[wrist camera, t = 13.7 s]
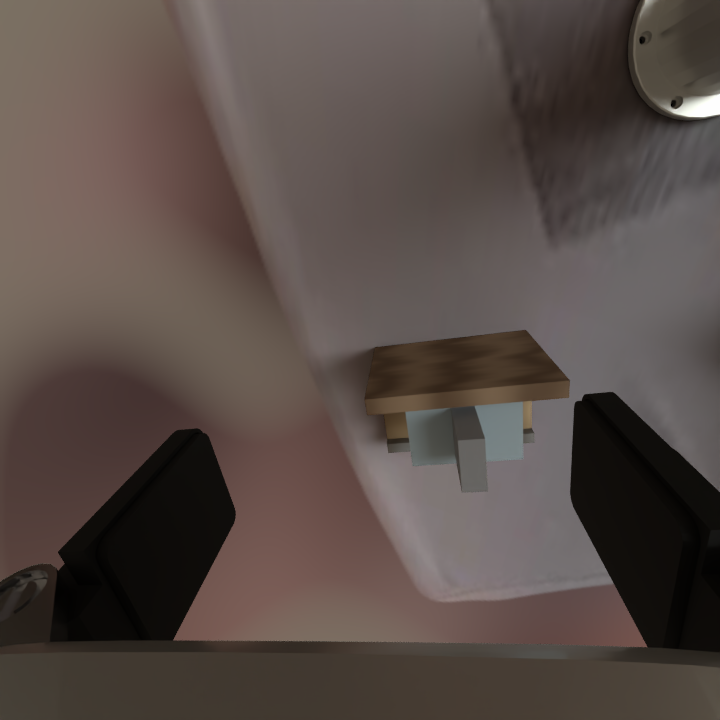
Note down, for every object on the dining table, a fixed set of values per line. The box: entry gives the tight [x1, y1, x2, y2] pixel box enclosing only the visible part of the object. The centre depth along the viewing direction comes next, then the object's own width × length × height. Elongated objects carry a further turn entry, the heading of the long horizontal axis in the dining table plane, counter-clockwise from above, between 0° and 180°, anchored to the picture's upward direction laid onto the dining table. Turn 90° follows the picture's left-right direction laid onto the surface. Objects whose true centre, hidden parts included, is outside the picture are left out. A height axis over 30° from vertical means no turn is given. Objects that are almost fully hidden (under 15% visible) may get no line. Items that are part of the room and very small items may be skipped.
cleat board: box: [365, 330, 570, 453], centre depth 39 cm, size 16×12×12 cm
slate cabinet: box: [405, 402, 523, 493], centre depth 36 cm, size 10×7×13 cm
